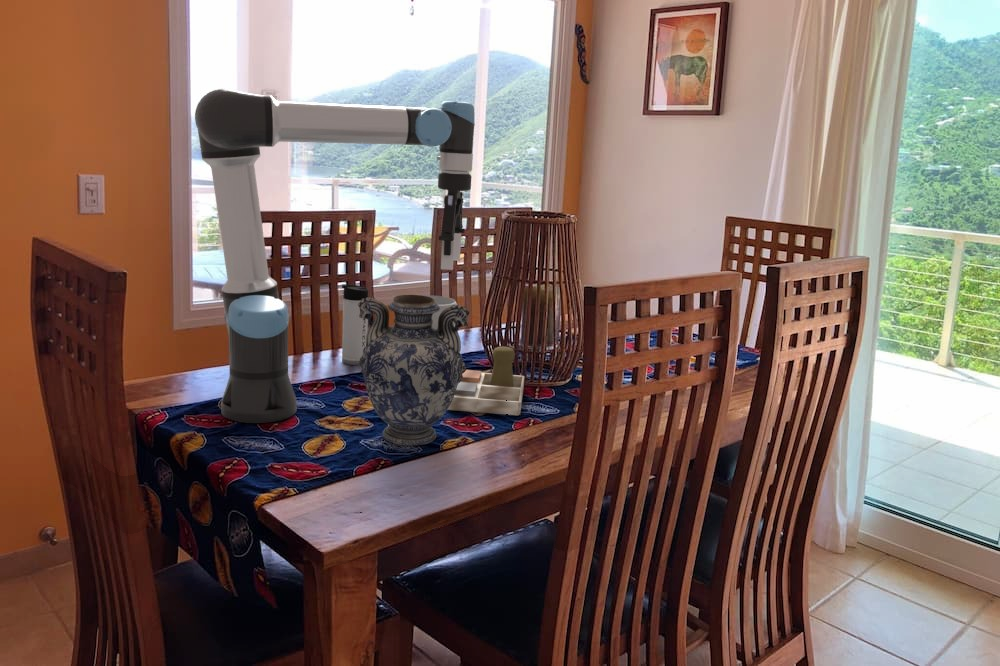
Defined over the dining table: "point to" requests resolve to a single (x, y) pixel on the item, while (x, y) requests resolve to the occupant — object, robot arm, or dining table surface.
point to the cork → (502, 367)
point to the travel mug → (353, 324)
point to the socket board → (487, 394)
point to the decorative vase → (411, 364)
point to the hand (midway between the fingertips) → (450, 264)
